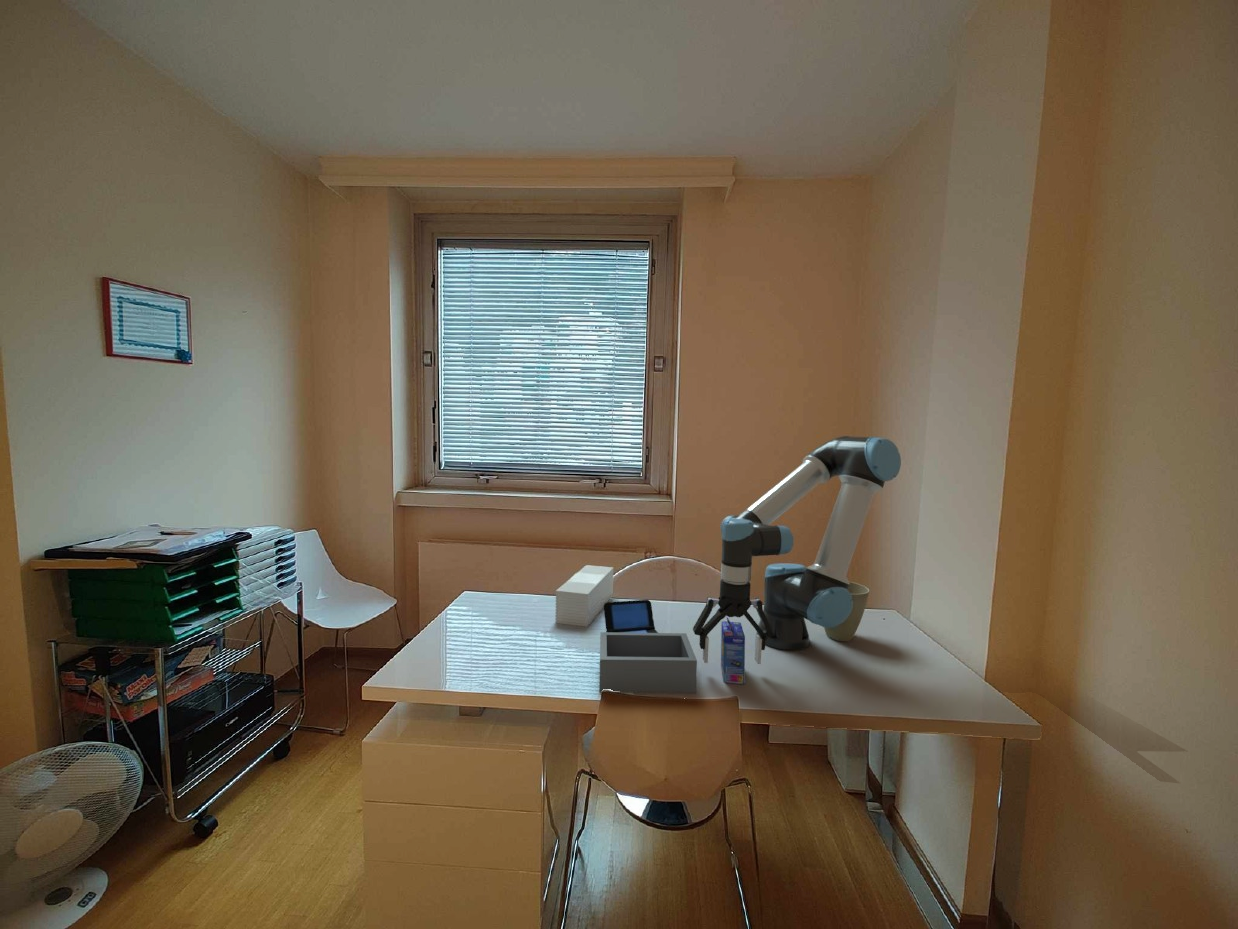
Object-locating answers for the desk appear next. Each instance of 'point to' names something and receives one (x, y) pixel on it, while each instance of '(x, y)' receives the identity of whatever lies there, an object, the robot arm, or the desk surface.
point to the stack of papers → (584, 595)
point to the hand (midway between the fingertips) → (731, 661)
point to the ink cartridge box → (732, 652)
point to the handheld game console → (629, 617)
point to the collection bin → (647, 663)
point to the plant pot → (851, 614)
